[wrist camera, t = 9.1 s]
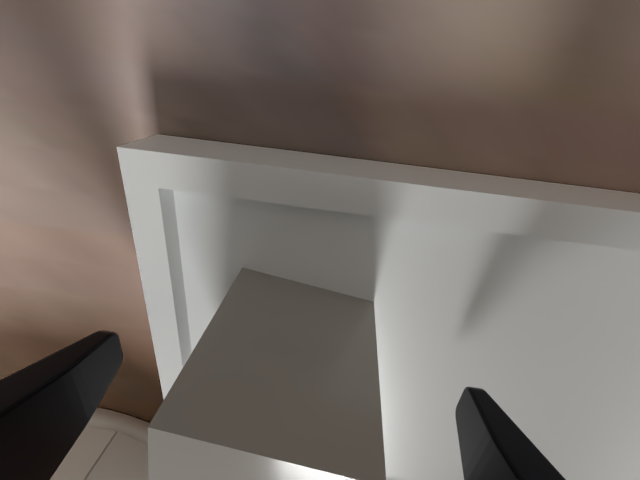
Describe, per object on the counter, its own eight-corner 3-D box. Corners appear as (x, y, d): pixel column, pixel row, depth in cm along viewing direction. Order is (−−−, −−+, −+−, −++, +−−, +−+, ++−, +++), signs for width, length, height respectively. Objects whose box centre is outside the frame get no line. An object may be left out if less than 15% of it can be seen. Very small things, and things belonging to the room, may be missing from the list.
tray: (876, 222, 8) (998, 257, 6) (598, 508, 13) (626, 559, 12) (157, 134, 8) (116, 146, 7) (196, 441, 14) (179, 482, 13)
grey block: (373, 301, 9) (386, 486, 5) (338, 388, 10) (327, 579, 6) (242, 267, 9) (147, 427, 5) (228, 360, 10) (149, 535, 6)
